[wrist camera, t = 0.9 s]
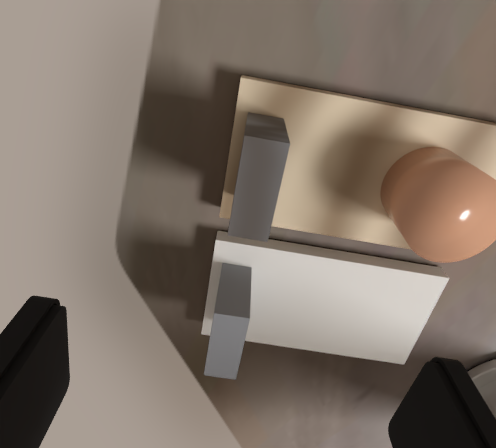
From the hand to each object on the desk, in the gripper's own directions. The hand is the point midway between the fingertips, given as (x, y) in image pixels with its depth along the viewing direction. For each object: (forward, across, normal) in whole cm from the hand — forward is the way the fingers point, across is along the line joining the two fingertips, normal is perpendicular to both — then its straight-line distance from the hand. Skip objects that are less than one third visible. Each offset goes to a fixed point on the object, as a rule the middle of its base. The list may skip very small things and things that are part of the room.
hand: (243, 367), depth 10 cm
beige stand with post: (+20, -8, 0) cm, 21 cm away
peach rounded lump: (+18, -13, 0) cm, 22 cm away
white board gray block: (+20, -8, +12) cm, 25 cm away
